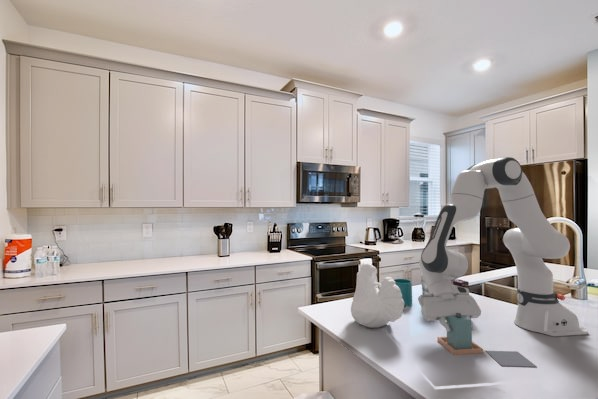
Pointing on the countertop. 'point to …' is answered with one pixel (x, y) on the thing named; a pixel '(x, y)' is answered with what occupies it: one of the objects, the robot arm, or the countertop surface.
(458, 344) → the cover
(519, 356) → the mat
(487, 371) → the countertop surface
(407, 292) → the cup
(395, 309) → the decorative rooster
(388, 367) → the countertop surface
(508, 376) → the countertop surface
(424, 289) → the metal bottle
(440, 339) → the dish
